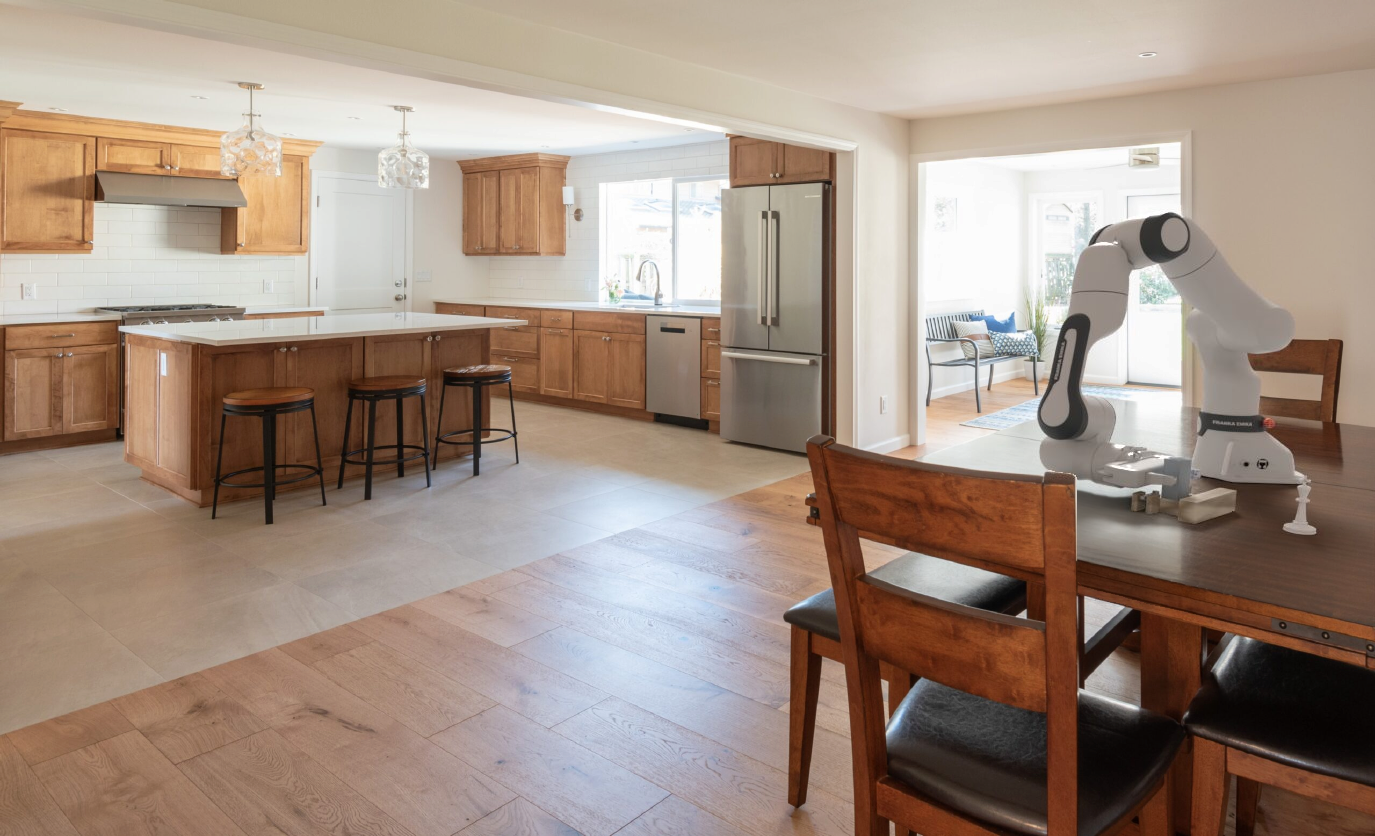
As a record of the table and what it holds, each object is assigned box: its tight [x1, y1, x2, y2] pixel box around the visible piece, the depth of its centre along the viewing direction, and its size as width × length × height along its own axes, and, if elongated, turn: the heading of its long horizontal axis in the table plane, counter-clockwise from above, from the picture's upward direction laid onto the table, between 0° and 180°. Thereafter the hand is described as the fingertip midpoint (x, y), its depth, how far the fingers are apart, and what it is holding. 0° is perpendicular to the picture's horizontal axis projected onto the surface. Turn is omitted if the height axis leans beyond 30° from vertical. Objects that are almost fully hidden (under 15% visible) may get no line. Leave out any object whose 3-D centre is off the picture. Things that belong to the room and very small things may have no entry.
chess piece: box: [1282, 475, 1317, 536], centre depth 155 cm, size 5×5×10 cm
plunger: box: [1140, 490, 1160, 501], centre depth 170 cm, size 1×6×1 cm, turn 125°
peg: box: [1160, 455, 1192, 501], centre depth 170 cm, size 4×4×10 cm
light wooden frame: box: [1130, 485, 1238, 525], centre depth 170 cm, size 12×16×4 cm
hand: (1187, 478), depth 169 cm, fingers open, 8 cm apart
